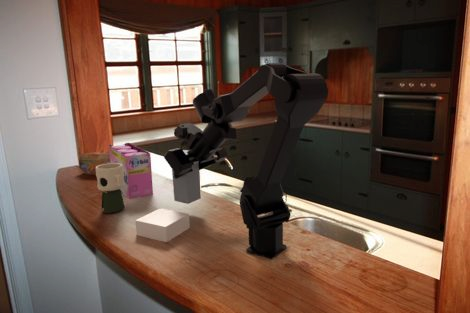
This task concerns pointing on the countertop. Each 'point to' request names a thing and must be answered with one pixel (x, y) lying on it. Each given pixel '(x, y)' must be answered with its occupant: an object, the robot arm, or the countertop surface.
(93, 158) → the tin
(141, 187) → the gum box
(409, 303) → the countertop surface
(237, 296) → the countertop surface
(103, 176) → the character mug
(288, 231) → the countertop surface
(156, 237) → the cream slab
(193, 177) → the grey column
